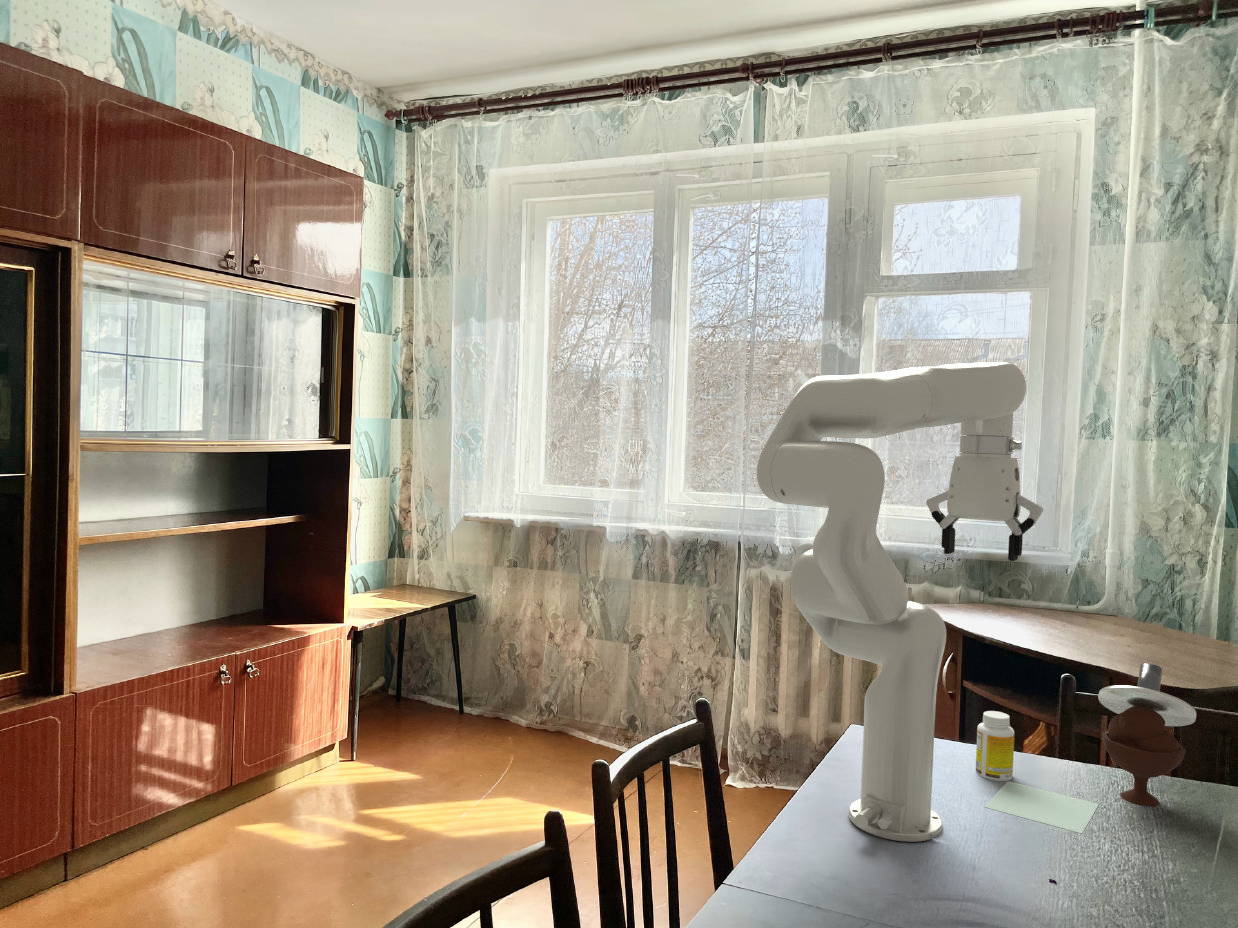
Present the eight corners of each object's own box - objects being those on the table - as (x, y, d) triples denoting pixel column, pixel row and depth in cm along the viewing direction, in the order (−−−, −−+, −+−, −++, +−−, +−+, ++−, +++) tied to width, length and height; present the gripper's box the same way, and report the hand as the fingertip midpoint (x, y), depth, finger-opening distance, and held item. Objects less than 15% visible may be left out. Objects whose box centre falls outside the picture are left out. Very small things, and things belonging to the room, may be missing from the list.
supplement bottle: (1020, 780, 142) (1023, 717, 142) (995, 785, 140) (998, 721, 139) (991, 767, 147) (994, 707, 147) (967, 772, 145) (970, 711, 144)
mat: (1081, 836, 123) (1082, 833, 123) (984, 809, 130) (984, 806, 130) (1099, 806, 133) (1099, 803, 133) (1007, 783, 141) (1007, 780, 141)
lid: (1194, 702, 128) (1199, 658, 130) (1093, 683, 135) (1100, 643, 138) (1197, 733, 137) (1201, 691, 139) (1102, 713, 144) (1108, 675, 147)
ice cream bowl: (1198, 817, 130) (1204, 717, 129) (1121, 814, 130) (1127, 714, 129) (1156, 788, 140) (1161, 695, 140) (1085, 786, 141) (1090, 693, 140)
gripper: (1051, 449, 136) (1045, 560, 136) (937, 446, 146) (932, 548, 147) (1039, 449, 130) (1033, 565, 130) (921, 445, 140) (917, 552, 141)
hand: (980, 556), depth 139 cm, fingers open, 9 cm apart
